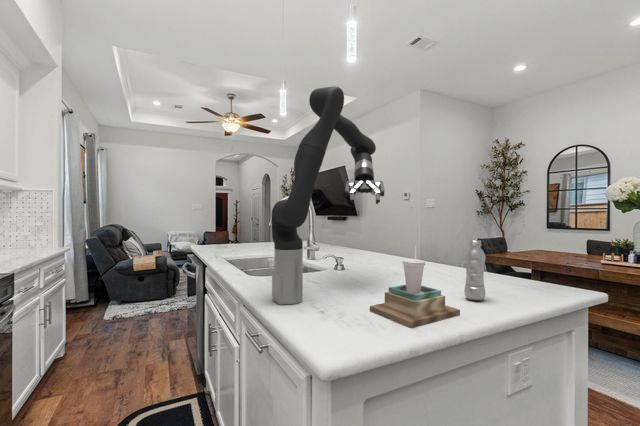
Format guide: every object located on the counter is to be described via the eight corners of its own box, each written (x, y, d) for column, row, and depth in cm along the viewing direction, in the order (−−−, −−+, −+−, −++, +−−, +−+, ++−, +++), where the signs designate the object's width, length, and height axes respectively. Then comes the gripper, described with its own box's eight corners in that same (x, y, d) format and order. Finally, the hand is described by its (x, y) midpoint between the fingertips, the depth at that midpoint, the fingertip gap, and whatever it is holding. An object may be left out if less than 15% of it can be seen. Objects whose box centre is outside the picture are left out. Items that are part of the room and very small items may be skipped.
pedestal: (411, 328, 82) (411, 300, 82) (369, 311, 95) (369, 287, 95) (460, 314, 92) (460, 290, 92) (416, 301, 106) (416, 279, 106)
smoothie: (426, 297, 90) (426, 247, 90) (402, 296, 92) (403, 247, 91) (423, 291, 97) (423, 245, 96) (401, 290, 98) (401, 244, 98)
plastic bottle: (464, 301, 106) (465, 240, 106) (463, 296, 112) (464, 239, 112) (486, 303, 103) (487, 241, 103) (484, 298, 110) (485, 239, 109)
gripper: (345, 166, 124) (345, 194, 112) (383, 165, 122) (386, 194, 111) (345, 181, 129) (345, 209, 118) (381, 181, 128) (384, 209, 116)
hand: (365, 202), depth 114 cm, fingers open, 8 cm apart
